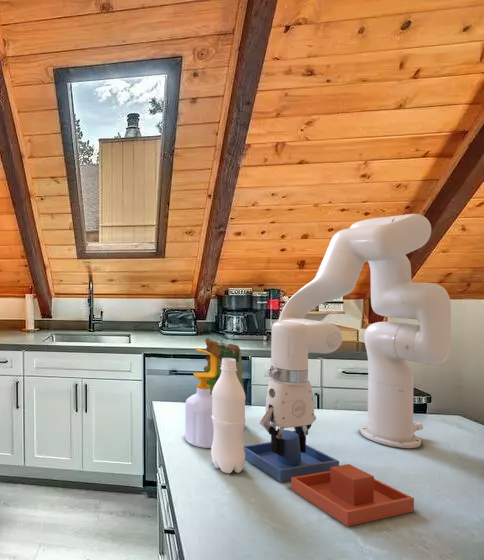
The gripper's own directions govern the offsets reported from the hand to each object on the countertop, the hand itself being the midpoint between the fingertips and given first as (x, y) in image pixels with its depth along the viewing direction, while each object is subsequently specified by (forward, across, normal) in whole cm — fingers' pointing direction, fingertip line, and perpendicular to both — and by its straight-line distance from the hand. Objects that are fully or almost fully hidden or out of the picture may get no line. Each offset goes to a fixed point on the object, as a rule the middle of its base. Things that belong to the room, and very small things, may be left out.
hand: (288, 451), depth 90 cm
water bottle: (+3, -15, +2) cm, 15 cm away
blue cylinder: (+2, +1, 0) cm, 2 cm away
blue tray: (+3, 0, 0) cm, 3 cm away
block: (+2, 0, -15) cm, 15 cm away
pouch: (+3, +1, +25) cm, 25 cm away
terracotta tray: (+3, 0, -15) cm, 15 cm away
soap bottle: (+3, -12, +16) cm, 20 cm away
